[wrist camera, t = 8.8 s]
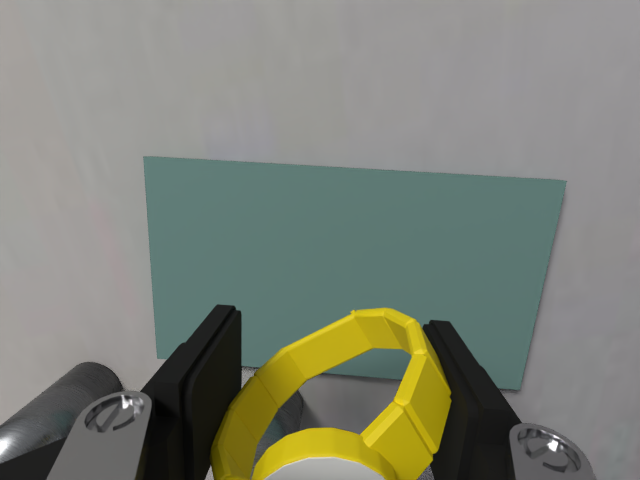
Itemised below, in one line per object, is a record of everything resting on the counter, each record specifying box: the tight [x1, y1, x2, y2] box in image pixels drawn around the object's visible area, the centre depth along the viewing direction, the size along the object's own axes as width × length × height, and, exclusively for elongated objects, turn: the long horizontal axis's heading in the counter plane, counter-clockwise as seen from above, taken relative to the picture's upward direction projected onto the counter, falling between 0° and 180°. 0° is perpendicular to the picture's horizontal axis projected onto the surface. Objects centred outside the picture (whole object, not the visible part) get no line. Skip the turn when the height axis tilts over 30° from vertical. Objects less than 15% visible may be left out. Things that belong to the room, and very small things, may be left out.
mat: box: [143, 157, 567, 390], centre depth 16 cm, size 18×10×1 cm, turn 87°
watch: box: [210, 308, 452, 480], centre depth 9 cm, size 6×3×6 cm, turn 120°
